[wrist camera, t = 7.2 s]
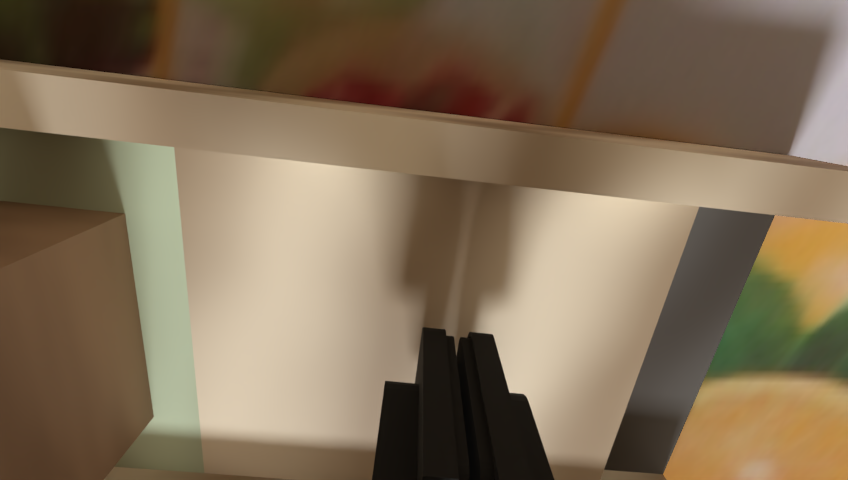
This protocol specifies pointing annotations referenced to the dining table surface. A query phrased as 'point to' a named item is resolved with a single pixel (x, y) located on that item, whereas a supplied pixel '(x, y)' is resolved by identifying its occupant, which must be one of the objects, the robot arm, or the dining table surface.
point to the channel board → (398, 263)
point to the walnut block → (68, 344)
